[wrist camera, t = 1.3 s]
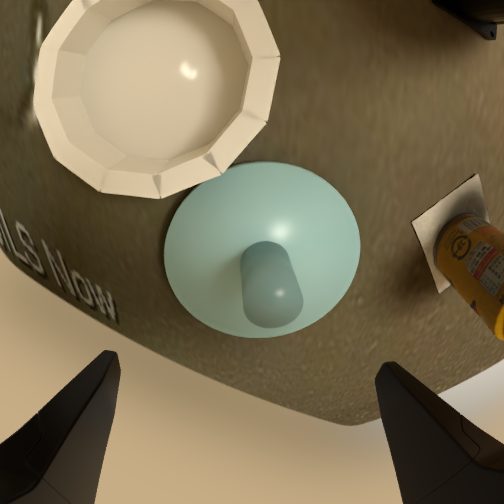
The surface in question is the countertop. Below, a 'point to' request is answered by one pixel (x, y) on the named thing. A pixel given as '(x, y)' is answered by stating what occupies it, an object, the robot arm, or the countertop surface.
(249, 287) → the lid
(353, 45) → the countertop surface
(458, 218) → the condiment
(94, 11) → the bowl
